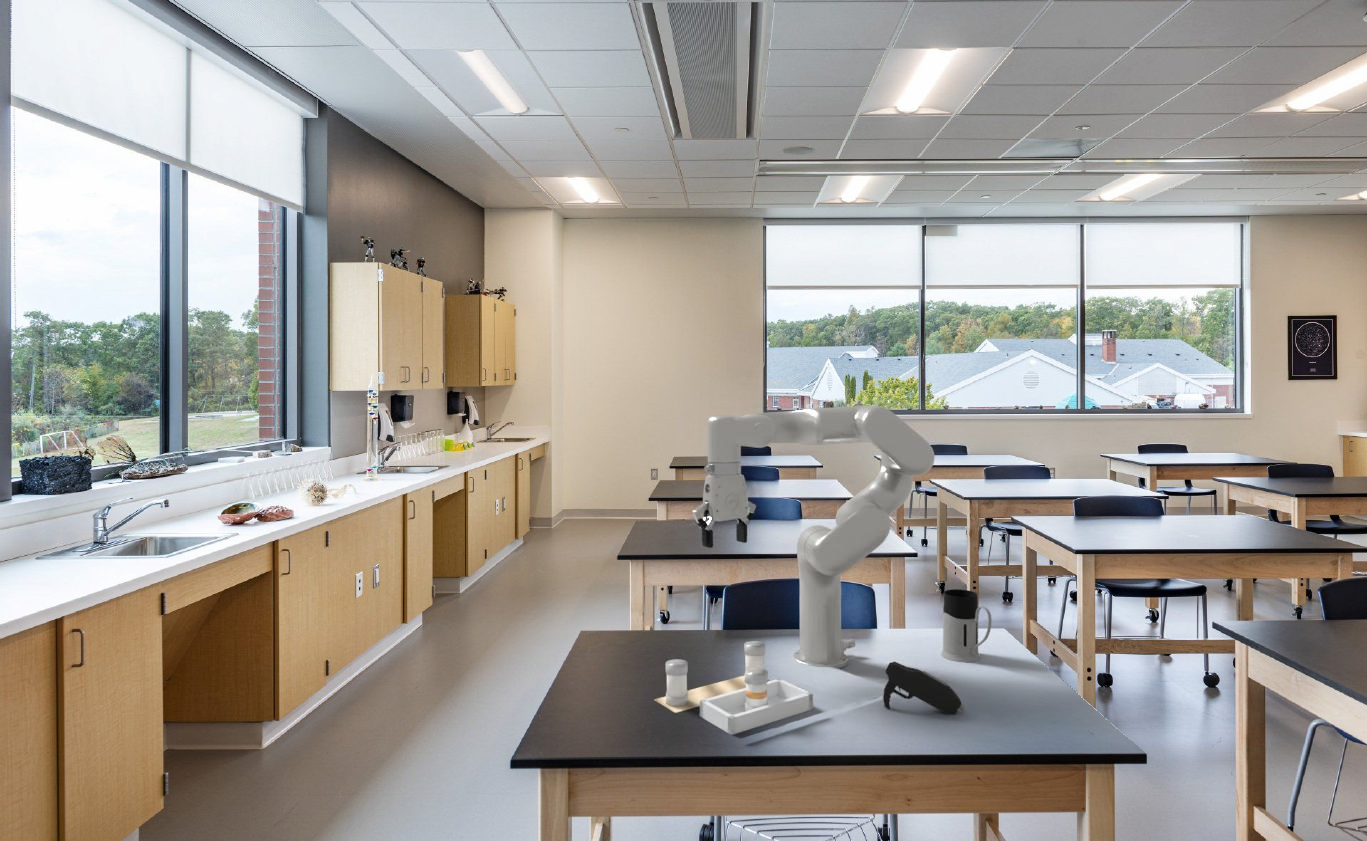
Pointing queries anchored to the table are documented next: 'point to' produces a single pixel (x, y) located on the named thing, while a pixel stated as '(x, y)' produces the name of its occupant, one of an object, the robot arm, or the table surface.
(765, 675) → the marked fuse
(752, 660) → the cylinder
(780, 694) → the tray
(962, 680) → the table surface
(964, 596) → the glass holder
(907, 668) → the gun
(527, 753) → the table surface
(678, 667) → the fuse
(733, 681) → the board
